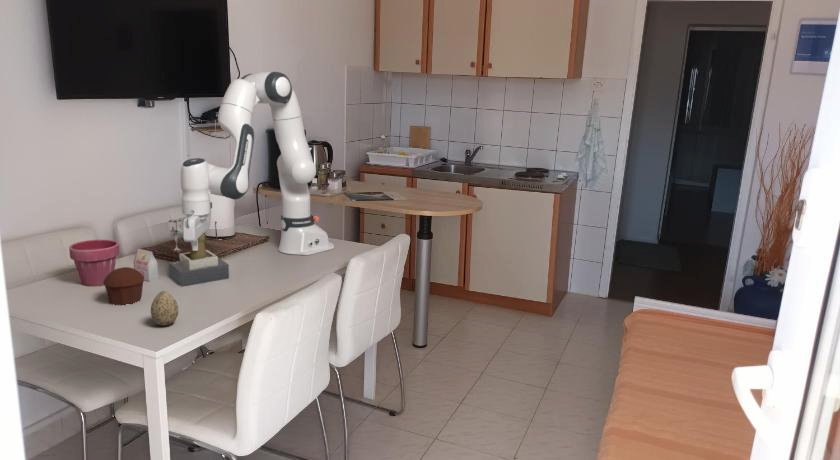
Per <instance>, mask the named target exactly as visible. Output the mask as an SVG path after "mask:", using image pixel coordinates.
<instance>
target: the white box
mask: <svg viewBox="0 0 840 460" xmlns="http://www.w3.org/2000/svg"><path fill="white" fill-rule="evenodd" d="M133 269H135V270H137V271H139V272H140V273H141V274H142V275H143V276H144V281H143V282H148V283H150V282H153V281H157V280H158V279H159V272H158V271H159V269H158V262H157V260H156V258H155V256H154V253H153V251H149V250H145V249H141V248H137V249H136V253H135V256H134V259H133Z"/></svg>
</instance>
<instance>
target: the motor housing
mask: <svg viewBox="0 0 840 460" xmlns="http://www.w3.org/2000/svg"><path fill="white" fill-rule="evenodd" d="M205 251H206V256H207V257H206V258H199V259H193V260H191V259H190V251H189V252H183V253H182V252H180V253H179V255H178V256H179V260H177V261H171V262H168V269H169V277H170V279H172V281H175V282H176V283H177V284H178V285H179V286H180V287H189V286H193V285H194V286H195V285H199V284H205V283H210V282H216V281H217V282H218V281H221V280H226V279H230V272H229V270H230V269H229V267H230V266H229V263H227V262H226V261H224V260H223V259H221V258H219V257H218V256H217V255H216V254H215V253H213V252H211V250H208V249H205Z"/></svg>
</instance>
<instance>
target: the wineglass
mask: <svg viewBox="0 0 840 460" xmlns="http://www.w3.org/2000/svg"><path fill="white" fill-rule="evenodd" d="M167 233H168V235H169V236H170V237H173V238H174V241H175V248H174V250H180V249H181V248H178V240H179V239H178V237H179V238H180V236H183V220H181V219H179V218H178V219H170V220H168V222H167Z"/></svg>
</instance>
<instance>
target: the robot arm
mask: <svg viewBox="0 0 840 460" xmlns="http://www.w3.org/2000/svg"><path fill="white" fill-rule="evenodd" d="M257 104H268V106H269V107H270V113H271V119H272V125H273V130H274V134H275V136H274V137H275V140H276V143H277V145H278V148H279V150H280V155H279V156H278V158H277V161H276V166H277V171H278V179H279V186H280V192H281V193H280V194H281V215H280V229H281V233H280V234H281V235H280V242H279V245H278V249H277V250H278V251H279V252H280V253H283V254H287V255H288V254H289V255H300V256H301V255H302V256H310V255H314V254H319V253H323V252H326V251H330V250H334V249H335V244H334V243H332V242H330V241H329V236H328V233H327V232H326V231H325V230H324V229H323V228H321V227H320V226H318V225H317V224H316V223H317V222H319V220H320V217H319V216H316V215H315V216H314V215H312V214H311V193H310V192H309V185H308V183H310V182H312V181H313V180H314V179H315V177H316V174H317V167H316V165H315V162H314V161H313V156H312V153H311V150H310V146H309V144H308V141H307V137H306V132H305V127H304V126H305V125H304V120H303V115H302V110H301V106H300V103H299V100H298V96H297V94H296V92H295V91H294V90H293V87H292V82H291V81H290V79H289V77H288V76H287V75H286V74H285V73H282V72H280V71H261V72H255V73H249V74H245V75H244V76H242V77H241V78H237V79H234V80H232V81H231V82H230V83H229V86H228V87H227V89H226V91H225V94H224V96H223V97H222V100H221V103H220V106H219V109H218V114H217V122H218V124H219V126H220V129H222V131H224V132H225V133H226V134H228V135H229V136H231V137H232V138H233V139H234V142H235V148H234V155H233V159H232V160H233V161H232V164H231V167H222V166H216V165H213V164H211V163H209V162H207V161H206V159H205V158H199V157H196V158H195V157H194V158H189V159H186V160H184V161H183V163H182V164H181V168H180V188H181V191H182V194H181V195H182V196H181V210H182V211H181V213H182V214H183V216H186V217H185V218H184V220H183V221H182V223H183V234H182V237H183V241H184V242H185V243H190V245H191V244H192V250H193V251H197V250H198V249H199V244H198V238H199V237H200V236H201V235H202V234H203V233H204V234H205V233H206V231H208V230H209V229H210V227H211V221H212V219H211V218H212V210H211V209H212V208H213V202H212V201H210V200H211V199H210V195H215V196H218V197H225V198H228V199H231V200H240V199H241V198H243V197H244V196H245V194H247V192H248V190H249V187H250V170H251V164H252V156H253V149H254V142H255V131H254V128H253V127H252V119H253V115H254V111H255V107H256V105H257ZM315 222H316V223H315Z"/></svg>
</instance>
